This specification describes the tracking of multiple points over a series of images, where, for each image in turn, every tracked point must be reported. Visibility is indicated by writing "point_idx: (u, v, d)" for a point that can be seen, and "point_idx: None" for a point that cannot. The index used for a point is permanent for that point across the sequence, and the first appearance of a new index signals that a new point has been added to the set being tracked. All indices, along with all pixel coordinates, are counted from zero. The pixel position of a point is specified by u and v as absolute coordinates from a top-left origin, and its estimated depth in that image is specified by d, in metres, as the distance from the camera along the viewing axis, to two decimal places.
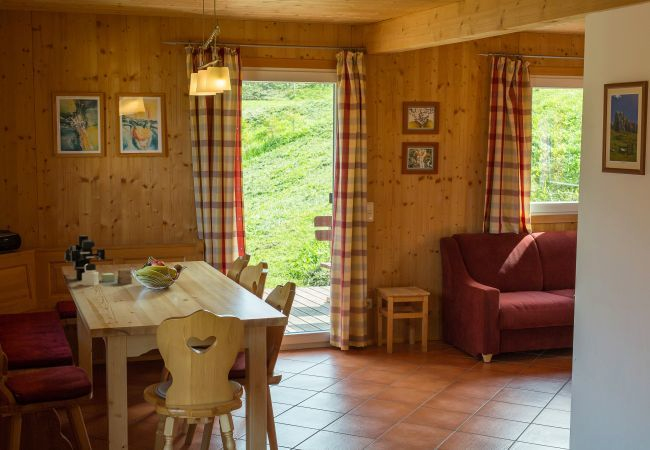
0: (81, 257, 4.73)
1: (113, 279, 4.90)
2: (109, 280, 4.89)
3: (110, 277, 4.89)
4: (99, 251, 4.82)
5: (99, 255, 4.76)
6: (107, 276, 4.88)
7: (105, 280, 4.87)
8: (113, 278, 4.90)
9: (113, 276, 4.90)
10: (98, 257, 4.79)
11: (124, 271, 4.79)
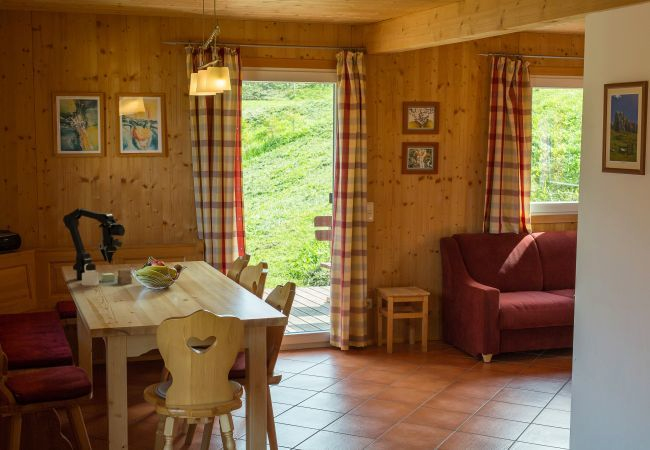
0: (109, 260, 4.85)
1: (113, 279, 4.90)
2: (109, 280, 4.89)
3: (110, 277, 4.89)
4: None
5: None
6: (107, 276, 4.88)
7: (105, 280, 4.87)
8: (113, 278, 4.90)
9: (113, 276, 4.90)
10: (103, 255, 4.93)
11: (124, 271, 4.79)
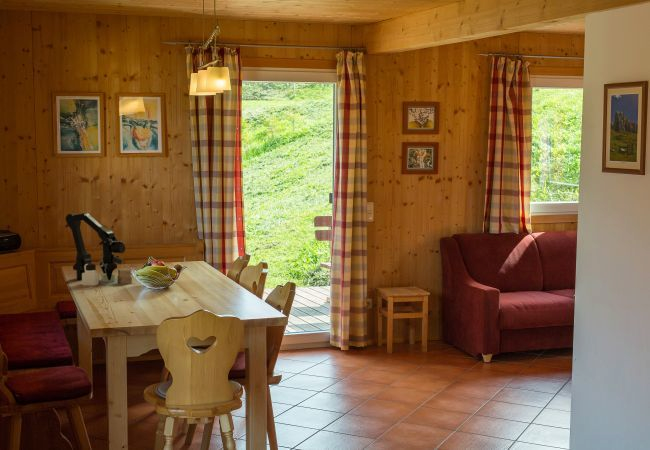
0: (109, 277, 4.88)
1: (113, 279, 4.90)
2: (109, 280, 4.89)
3: None
4: None
5: None
6: None
7: (105, 280, 4.87)
8: (113, 278, 4.90)
9: (113, 276, 4.90)
10: (104, 273, 4.93)
11: (124, 271, 4.79)
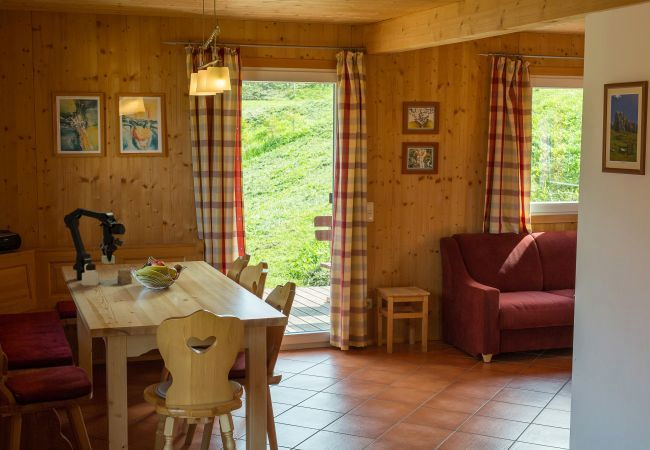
0: (109, 259, 4.86)
1: (113, 261, 4.89)
2: (109, 262, 4.87)
3: None
4: None
5: None
6: None
7: (105, 262, 4.86)
8: (113, 260, 4.89)
9: (113, 258, 4.88)
10: (104, 255, 4.92)
11: (124, 271, 4.79)
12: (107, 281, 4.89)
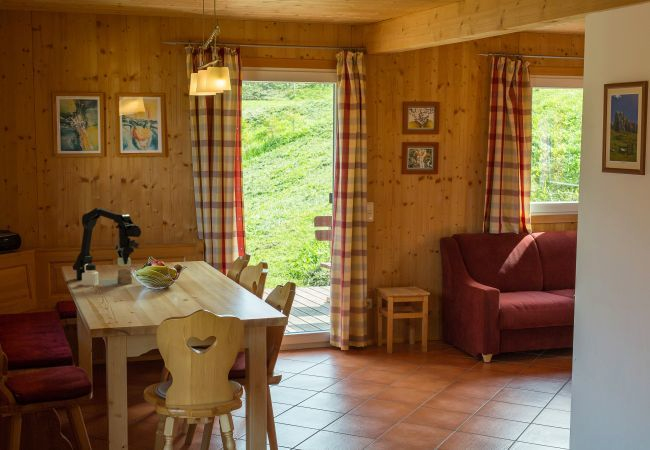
0: (125, 261, 4.78)
1: (129, 263, 4.80)
2: (125, 264, 4.79)
3: None
4: None
5: None
6: None
7: (121, 264, 4.78)
8: (129, 262, 4.80)
9: (129, 260, 4.80)
10: (120, 257, 4.84)
11: (124, 271, 4.79)
12: (107, 281, 4.89)
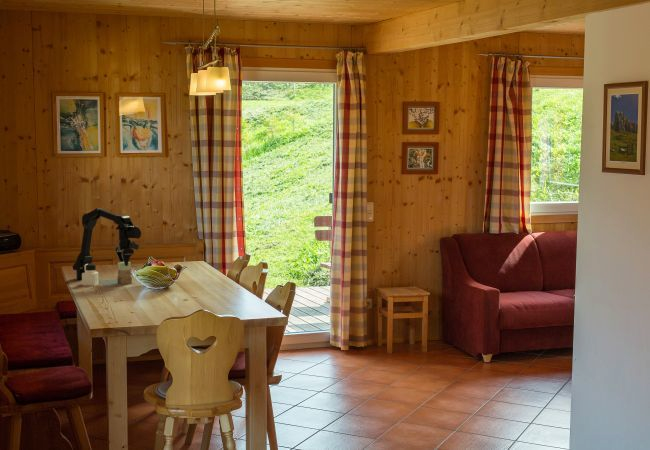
0: (126, 263, 4.77)
1: (129, 267, 4.81)
2: (125, 268, 4.79)
3: None
4: None
5: None
6: (123, 264, 4.79)
7: (121, 268, 4.78)
8: (129, 266, 4.80)
9: (129, 264, 4.80)
10: (120, 258, 4.85)
11: (124, 271, 4.79)
12: (107, 281, 4.89)
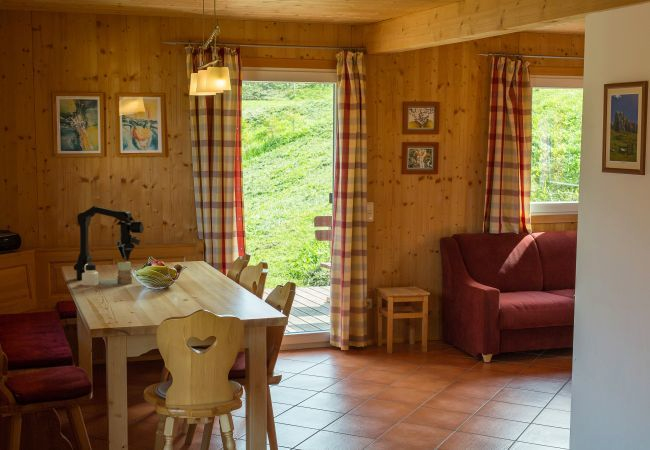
0: (127, 257, 4.87)
1: (129, 267, 4.81)
2: (125, 268, 4.79)
3: (126, 265, 4.80)
4: None
5: None
6: (123, 264, 4.79)
7: (121, 268, 4.78)
8: (129, 266, 4.80)
9: (129, 264, 4.80)
10: (121, 253, 4.95)
11: (124, 271, 4.79)
12: (107, 281, 4.89)
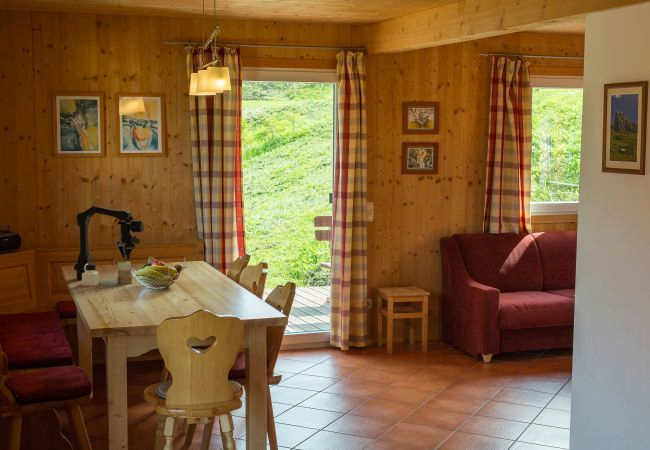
0: (127, 257, 4.88)
1: (129, 267, 4.81)
2: (125, 268, 4.79)
3: (126, 265, 4.80)
4: None
5: (124, 257, 4.97)
6: (123, 264, 4.79)
7: (121, 268, 4.78)
8: (129, 266, 4.80)
9: (129, 264, 4.80)
10: (121, 252, 4.96)
11: (124, 271, 4.79)
12: (107, 281, 4.89)
